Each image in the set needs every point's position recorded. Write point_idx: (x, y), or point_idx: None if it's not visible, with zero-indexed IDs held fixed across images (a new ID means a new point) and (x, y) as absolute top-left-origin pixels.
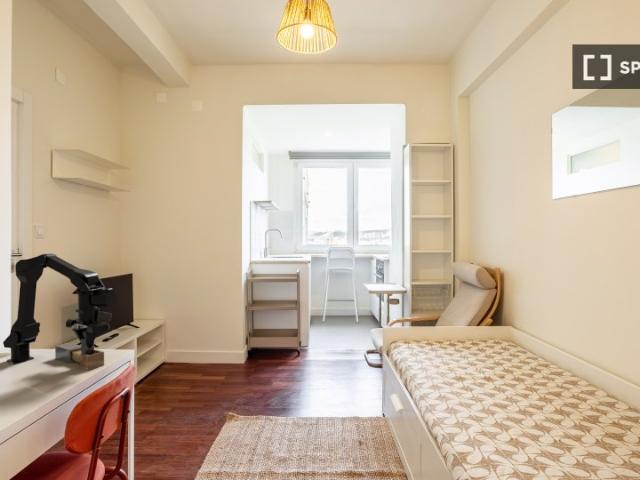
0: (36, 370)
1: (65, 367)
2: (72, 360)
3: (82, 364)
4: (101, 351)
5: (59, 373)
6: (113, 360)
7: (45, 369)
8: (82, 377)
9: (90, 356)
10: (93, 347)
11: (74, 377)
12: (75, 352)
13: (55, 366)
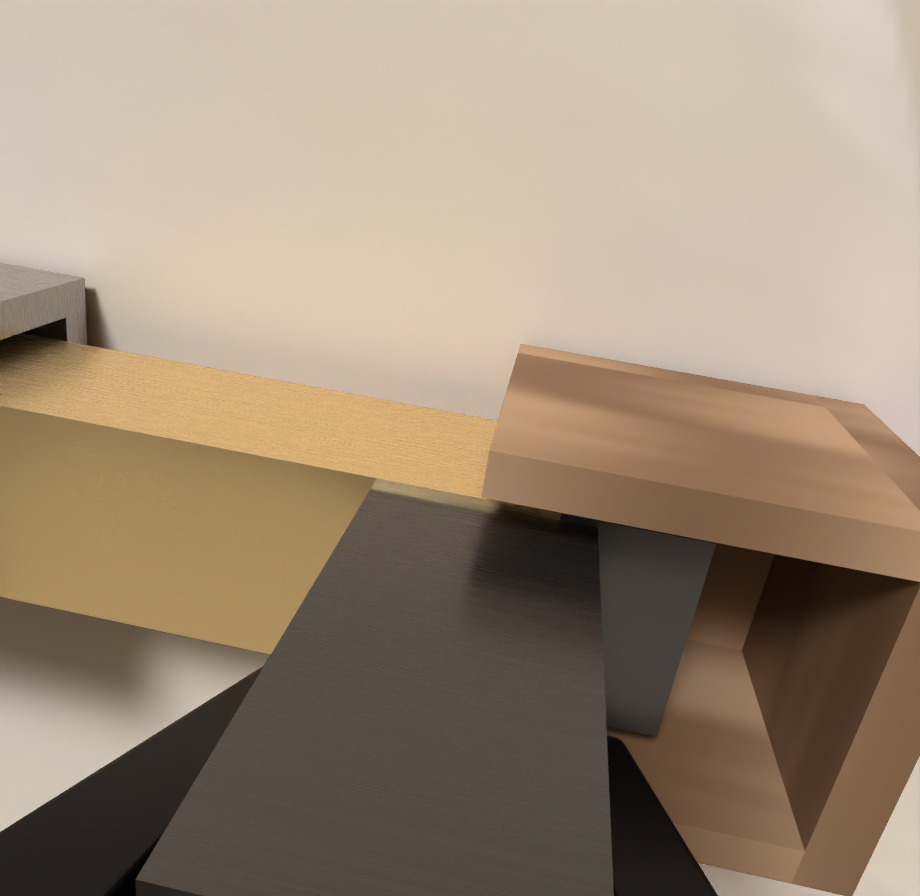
0: (11, 815)
1: (239, 653)
2: None
3: None
4: (895, 546)
5: None
6: (805, 49)
7: (70, 769)
8: (913, 875)
9: (854, 848)
10: (599, 653)
11: (781, 893)
12: (72, 596)
13: (58, 660)
